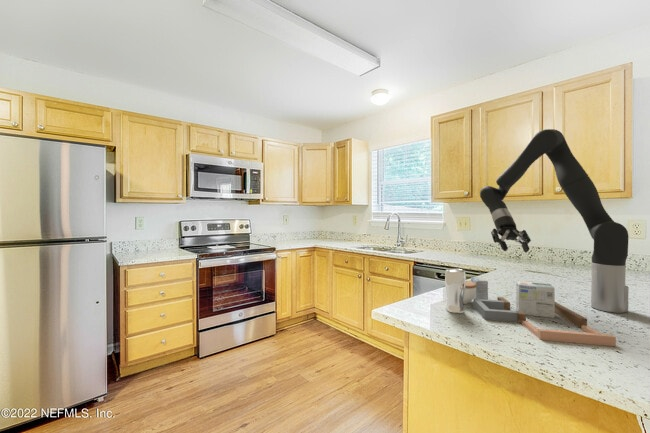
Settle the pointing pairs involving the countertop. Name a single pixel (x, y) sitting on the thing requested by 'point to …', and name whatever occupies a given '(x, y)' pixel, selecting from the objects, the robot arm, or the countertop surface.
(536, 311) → the light bulb box
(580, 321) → the open corridor
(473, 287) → the lidded jar
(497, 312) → the frame
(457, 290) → the silver metal can
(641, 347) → the countertop surface
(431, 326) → the countertop surface
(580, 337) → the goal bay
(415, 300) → the countertop surface
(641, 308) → the countertop surface
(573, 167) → the robot arm
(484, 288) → the medicine box
